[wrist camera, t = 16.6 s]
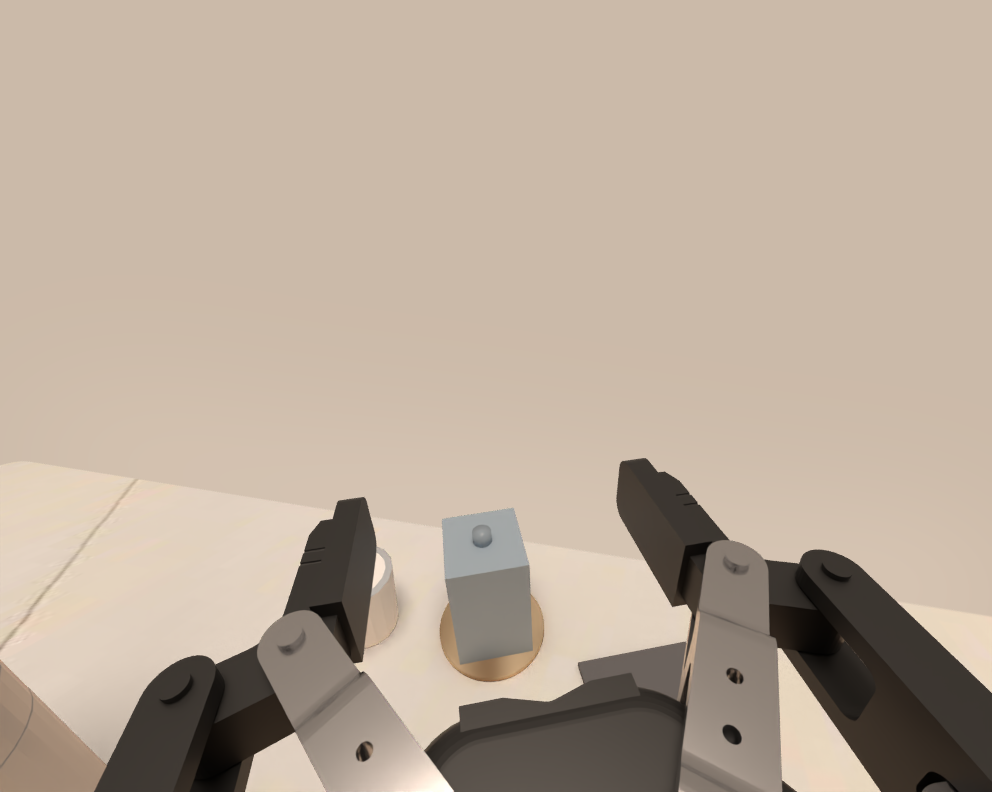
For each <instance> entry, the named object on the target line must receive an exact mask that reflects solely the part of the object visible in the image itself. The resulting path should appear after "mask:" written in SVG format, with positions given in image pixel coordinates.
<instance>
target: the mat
mask: <svg viewBox="0 0 992 792" xmlns="http://www.w3.org/2000/svg"><path fill="white" fill-rule="evenodd" d="M685 649H686V642H681V643H676V644H671V645H666V646H660V647H655V648H650V649H645V650H640V651H635V652H630V653H625V654H619V655H614V656H609V657H604V658H599V659H594V660H589V661H584V662H578V666H579V670H580V673H581V676H582V679H583V682H584V684H585V683H587V682H589V681H591V680H596V679H601V678H606V677H611V676H616V675H621V674H626V673H632V675H633V678H634V680H635V683H636V685H637V687H642V688H647V689H651V690H654V691H657V692H660V693H663V694H665V695H667V696H669V697H672V698H674V699H676V700H677V696H678V692H679V687H680V681H681V675H682V669H683V662H684V656H685Z"/></svg>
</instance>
